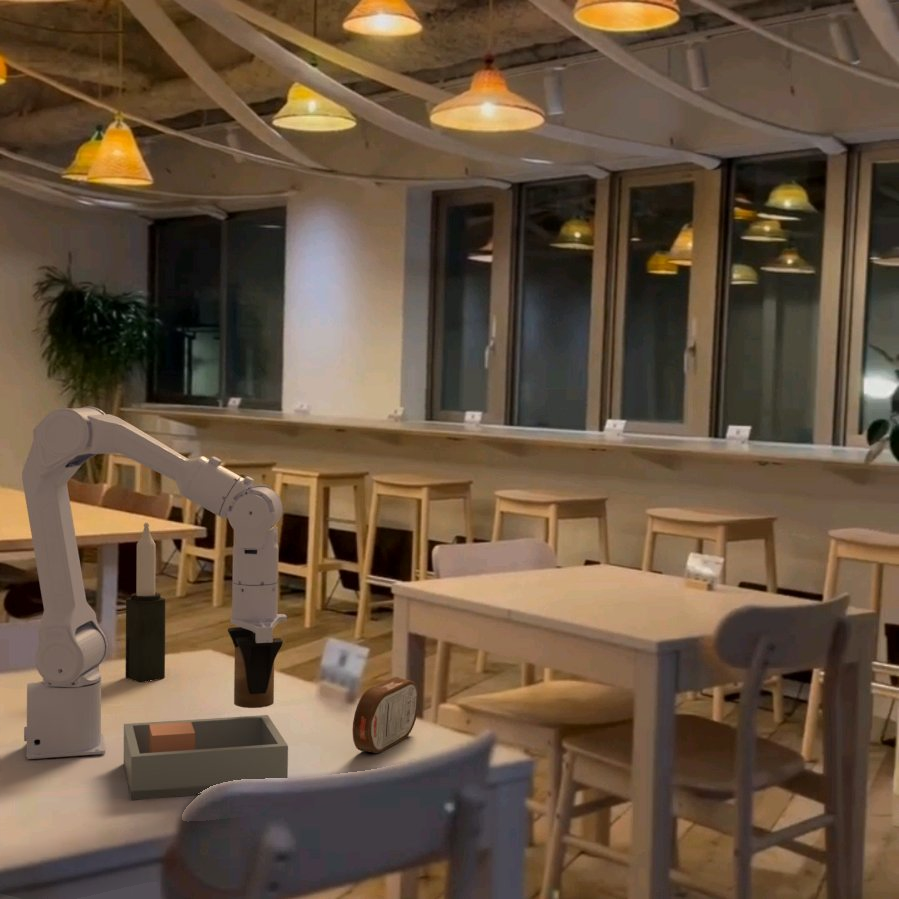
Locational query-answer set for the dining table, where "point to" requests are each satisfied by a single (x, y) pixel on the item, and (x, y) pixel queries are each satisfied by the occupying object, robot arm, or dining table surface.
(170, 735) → the terracotta cube
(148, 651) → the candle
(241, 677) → the walnut cylinder
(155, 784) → the tote
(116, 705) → the dining table surface
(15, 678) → the dining table surface
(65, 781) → the dining table surface
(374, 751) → the tin
